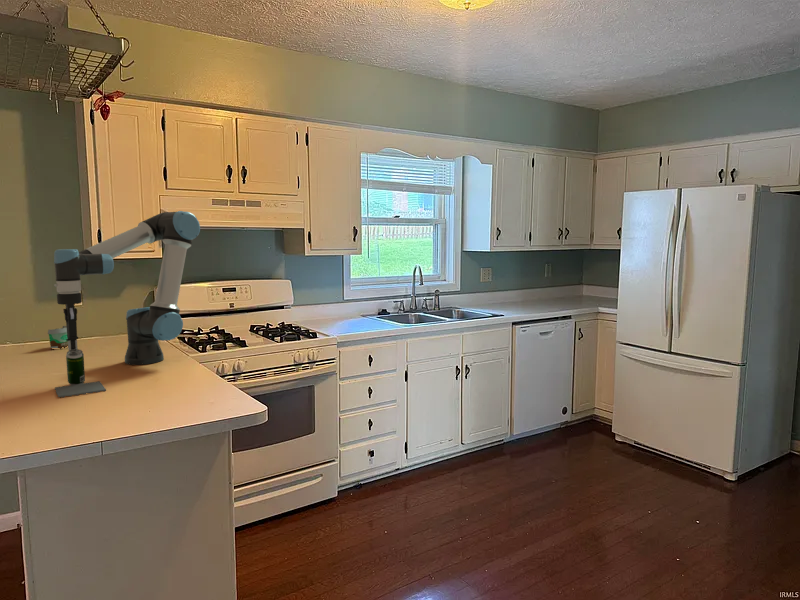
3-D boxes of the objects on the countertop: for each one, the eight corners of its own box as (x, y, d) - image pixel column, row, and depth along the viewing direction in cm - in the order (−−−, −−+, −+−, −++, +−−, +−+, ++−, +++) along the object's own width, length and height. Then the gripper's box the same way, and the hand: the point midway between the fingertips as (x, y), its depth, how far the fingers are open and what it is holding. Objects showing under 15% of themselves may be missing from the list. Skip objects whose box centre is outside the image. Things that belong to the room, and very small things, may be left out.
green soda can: (88, 379, 204) (86, 350, 200) (79, 386, 199) (78, 356, 195) (73, 377, 204) (71, 348, 199) (64, 384, 199) (62, 354, 194)
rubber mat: (54, 389, 195) (54, 387, 195) (99, 382, 203) (99, 381, 203) (58, 398, 184) (58, 396, 184) (105, 391, 192) (105, 389, 192)
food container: (61, 350, 264) (60, 329, 263) (49, 350, 264) (47, 329, 263) (77, 345, 276) (75, 325, 275) (65, 345, 276) (63, 325, 275)
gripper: (55, 291, 201) (60, 356, 204) (58, 294, 191) (63, 362, 193) (79, 290, 206) (83, 353, 208) (83, 293, 195) (87, 359, 198)
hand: (73, 357), depth 201 cm, fingers closed
